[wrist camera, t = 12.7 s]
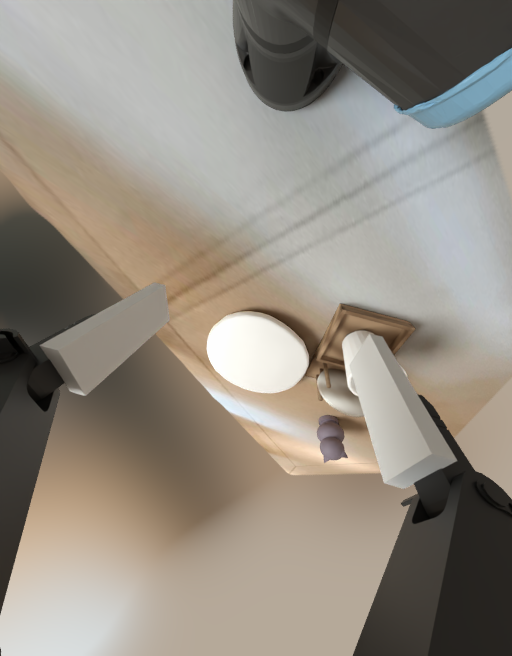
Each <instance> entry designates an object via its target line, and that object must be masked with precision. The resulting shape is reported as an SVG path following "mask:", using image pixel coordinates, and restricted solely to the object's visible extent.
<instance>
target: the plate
mask: <svg viewBox="0 0 512 656" xmlns="http://www.w3.org/2000/svg"><path fill="white" fill-rule="evenodd" d="M207 353H208V357H209V359H210V362H211V364H212V366H213V367H214V369H215V370H216V371H217V372H218V373H219V374H220V375H221V376H222V377H224V378H225V379H226V380H228V381H229V382H231V383H233V384H235V385H237V386H239V387H241V388H243V389H246V390H249V391H254V392H260V393H278V392H281V391H284V390H287V389H289V388H291V387H293V386H295V385H296V384H297V383H298V382H299V381H300V380H301V379H302V377H303V376H304V374H305V373H306V370H307V368H308V366H309V354H308V351H307V349H306V346H305V343H304V341H303V340H302V339H301V338H300V337H299V336H298V335H297V334H296V333H295V332H294V331H293V330H292V329H291V328H289V327H288V326H287V325H285V324H284V323H282V322H281V321H279V320H277V319H275V318H274V317H272V316H270V315H267V314H264V313H260V312H252V311H242V312H236V313H233V314H229V315H227V316H225V317H224V318H223V319H222V320H220V321H219V322H218V323H217V324H216V325H214V327H213V328H212V330H211V331H210V333H209V337H208V341H207Z"/></svg>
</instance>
